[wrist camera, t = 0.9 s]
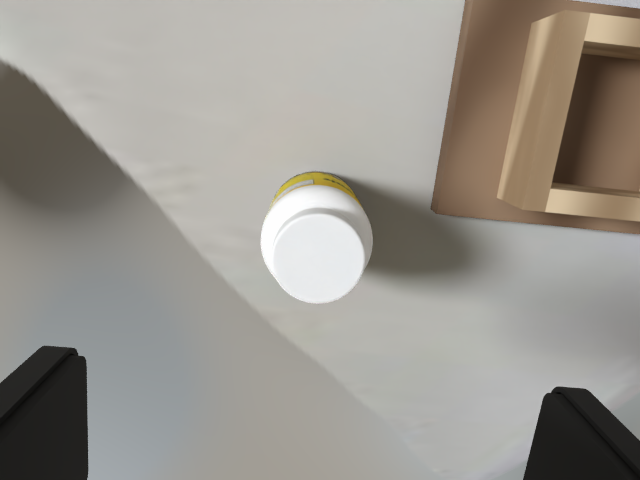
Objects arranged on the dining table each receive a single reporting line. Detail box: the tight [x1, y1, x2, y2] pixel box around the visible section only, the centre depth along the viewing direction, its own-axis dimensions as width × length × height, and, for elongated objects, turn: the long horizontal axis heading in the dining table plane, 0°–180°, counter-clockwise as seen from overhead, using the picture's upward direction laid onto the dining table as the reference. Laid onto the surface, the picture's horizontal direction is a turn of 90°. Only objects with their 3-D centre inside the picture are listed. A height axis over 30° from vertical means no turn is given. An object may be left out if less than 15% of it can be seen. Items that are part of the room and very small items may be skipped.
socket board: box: [431, 0, 640, 234], centre depth 26 cm, size 16×12×5 cm
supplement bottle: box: [261, 171, 373, 304], centre depth 25 cm, size 5×5×10 cm
